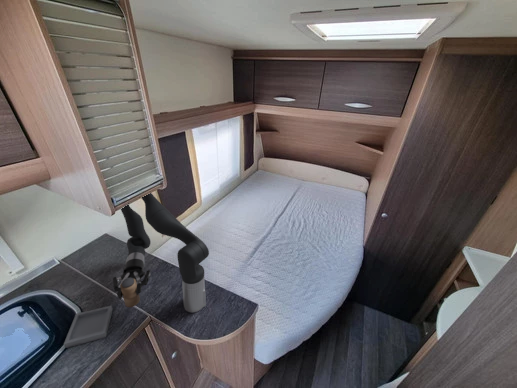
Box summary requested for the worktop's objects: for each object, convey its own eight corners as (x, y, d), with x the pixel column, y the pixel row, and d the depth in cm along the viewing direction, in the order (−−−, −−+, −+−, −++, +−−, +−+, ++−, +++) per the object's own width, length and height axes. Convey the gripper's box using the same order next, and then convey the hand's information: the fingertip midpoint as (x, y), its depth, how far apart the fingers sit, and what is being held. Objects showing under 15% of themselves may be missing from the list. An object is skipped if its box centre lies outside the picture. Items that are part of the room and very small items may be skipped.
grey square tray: (112, 309, 88) (111, 305, 87) (105, 337, 78) (104, 333, 77) (77, 317, 83) (76, 313, 82) (65, 348, 74) (63, 344, 73)
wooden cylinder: (140, 294, 86) (136, 275, 82) (139, 305, 82) (134, 285, 78) (126, 298, 85) (121, 278, 80) (124, 308, 80) (118, 288, 76)
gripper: (114, 261, 88) (104, 293, 74) (151, 255, 94) (148, 283, 80) (117, 274, 91) (108, 307, 77) (153, 267, 97) (151, 297, 83)
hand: (128, 295), depth 79 cm, fingers closed on wooden cylinder, 5 cm apart
